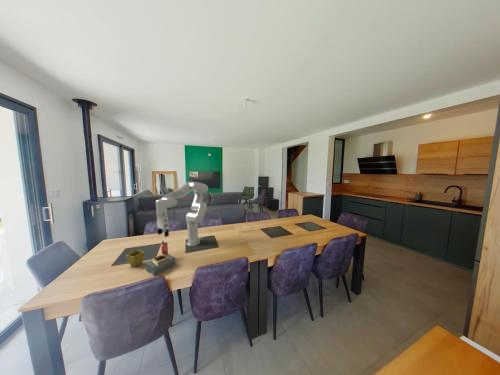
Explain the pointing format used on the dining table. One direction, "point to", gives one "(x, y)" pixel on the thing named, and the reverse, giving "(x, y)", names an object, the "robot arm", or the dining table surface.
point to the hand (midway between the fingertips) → (163, 235)
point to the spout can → (164, 247)
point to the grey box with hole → (160, 264)
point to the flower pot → (135, 257)
